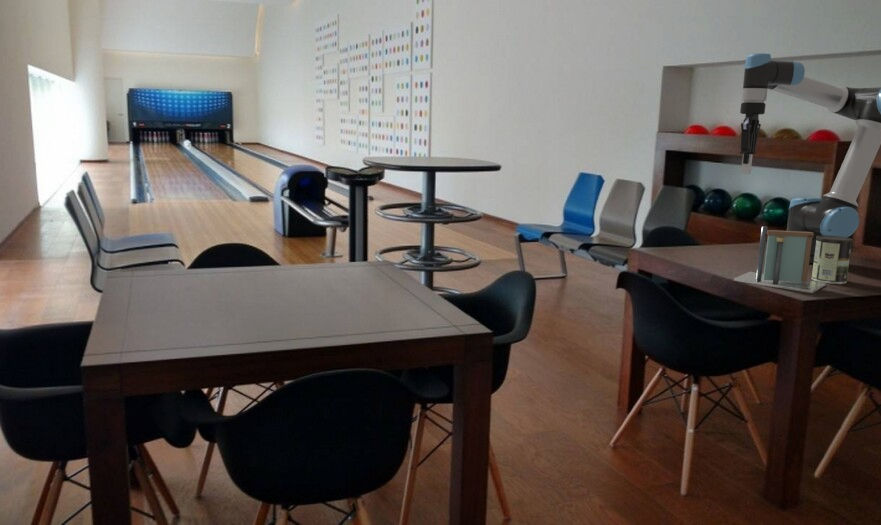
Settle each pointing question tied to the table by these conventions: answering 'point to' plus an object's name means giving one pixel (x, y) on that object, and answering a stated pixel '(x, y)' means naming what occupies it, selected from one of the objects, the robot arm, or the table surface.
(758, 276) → the gate frame
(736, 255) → the table surface
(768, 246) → the panel
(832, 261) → the coffee can
